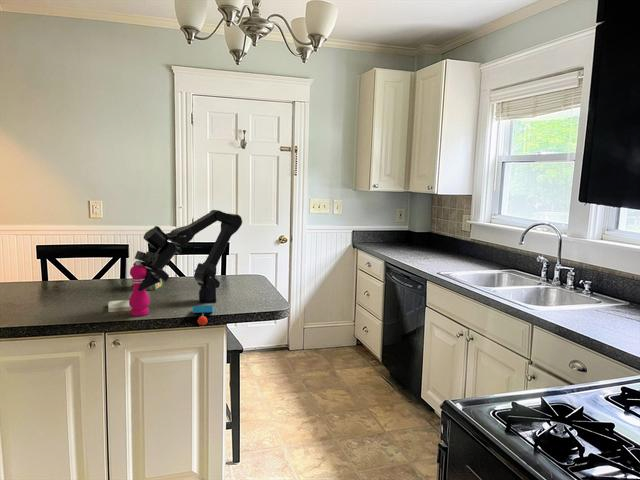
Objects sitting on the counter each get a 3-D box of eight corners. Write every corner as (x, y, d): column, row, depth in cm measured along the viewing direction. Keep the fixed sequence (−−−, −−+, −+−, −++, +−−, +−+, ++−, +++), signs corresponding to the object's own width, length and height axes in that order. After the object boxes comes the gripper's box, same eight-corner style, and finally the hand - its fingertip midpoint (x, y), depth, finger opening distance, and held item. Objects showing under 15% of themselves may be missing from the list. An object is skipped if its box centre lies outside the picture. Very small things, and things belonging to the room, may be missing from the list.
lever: (194, 324, 178) (192, 326, 161) (194, 306, 179) (192, 305, 162) (212, 323, 180) (212, 325, 163) (212, 305, 181) (212, 305, 164)
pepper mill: (150, 315, 171) (148, 262, 169) (129, 317, 169) (127, 263, 166) (149, 310, 178) (148, 258, 175) (129, 311, 175) (127, 259, 173)
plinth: (135, 303, 187) (135, 299, 187) (137, 310, 178) (137, 306, 178) (108, 305, 183) (108, 301, 183) (108, 312, 174) (108, 308, 174)
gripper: (137, 239, 179) (109, 271, 173) (160, 246, 166) (130, 280, 160) (157, 257, 186) (130, 289, 179) (180, 265, 173) (153, 299, 166)
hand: (135, 289), depth 171 cm, fingers closed on pepper mill, 5 cm apart
